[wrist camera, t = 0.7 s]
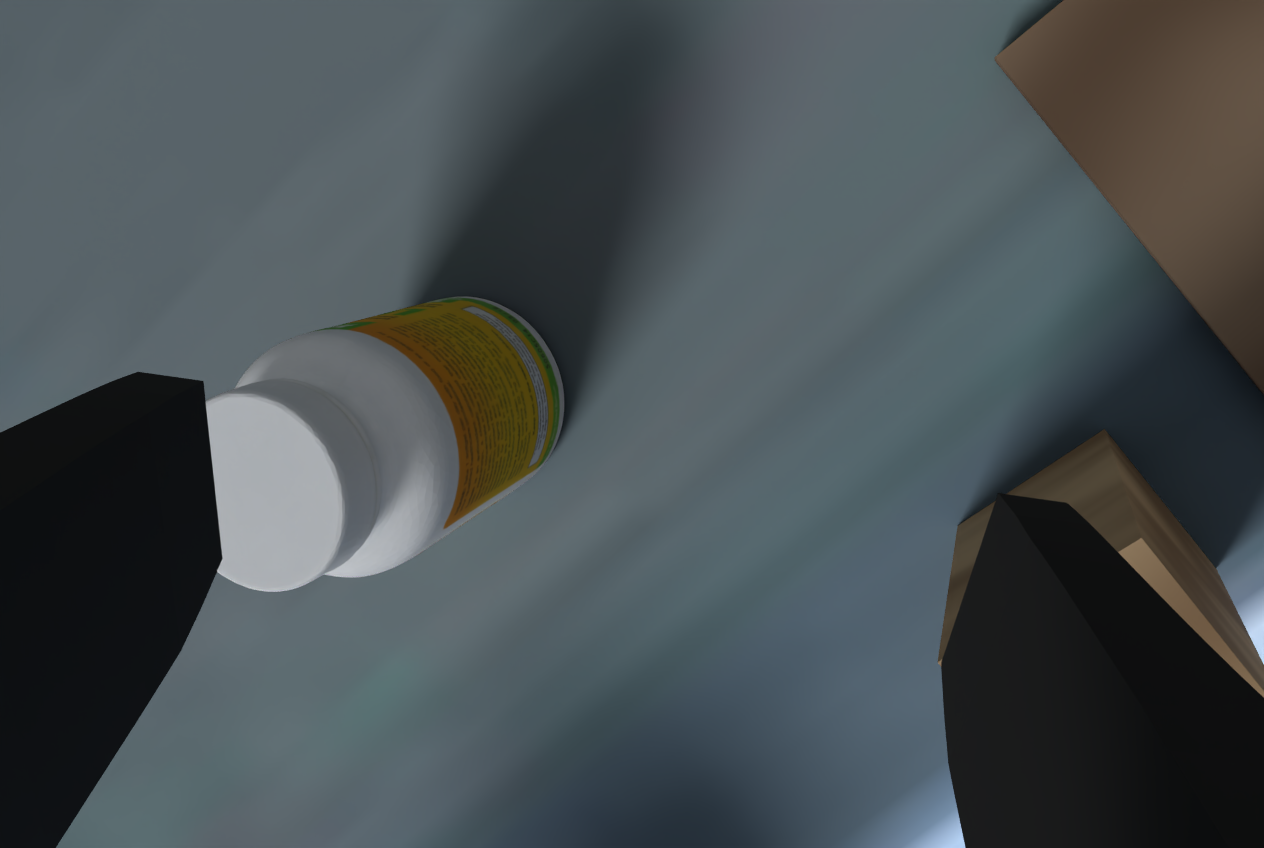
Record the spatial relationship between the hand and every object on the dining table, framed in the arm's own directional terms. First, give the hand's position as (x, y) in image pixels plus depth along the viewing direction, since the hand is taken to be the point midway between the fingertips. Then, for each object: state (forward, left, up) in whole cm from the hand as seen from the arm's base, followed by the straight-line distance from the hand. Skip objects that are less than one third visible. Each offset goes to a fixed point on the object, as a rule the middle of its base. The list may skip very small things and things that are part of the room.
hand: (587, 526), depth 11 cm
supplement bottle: (+4, +9, -18) cm, 21 cm away
